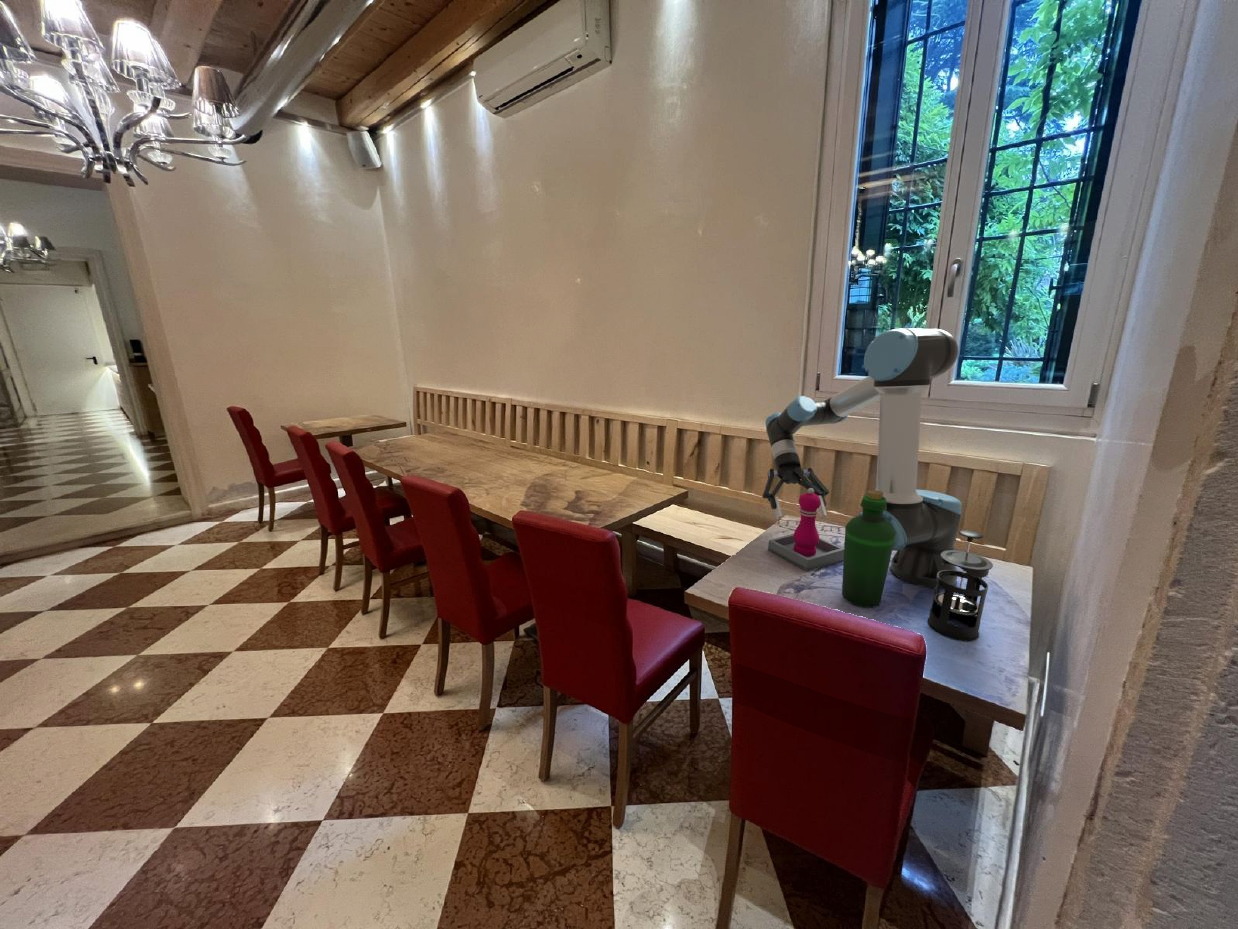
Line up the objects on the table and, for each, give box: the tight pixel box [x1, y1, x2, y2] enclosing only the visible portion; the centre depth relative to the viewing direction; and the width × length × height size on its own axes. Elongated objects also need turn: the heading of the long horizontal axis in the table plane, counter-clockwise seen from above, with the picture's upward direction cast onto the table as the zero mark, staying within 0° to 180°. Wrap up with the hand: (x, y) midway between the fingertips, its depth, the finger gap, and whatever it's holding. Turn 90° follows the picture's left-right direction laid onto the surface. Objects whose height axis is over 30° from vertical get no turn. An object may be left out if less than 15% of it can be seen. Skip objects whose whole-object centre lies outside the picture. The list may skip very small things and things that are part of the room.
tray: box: [767, 533, 844, 572], centre depth 137 cm, size 15×15×4 cm
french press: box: [926, 529, 994, 642], centre depth 99 cm, size 12×9×23 cm
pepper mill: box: [793, 488, 821, 556], centre depth 135 cm, size 7×7×20 cm
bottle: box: [841, 489, 896, 609], centre depth 110 cm, size 11×11×28 cm
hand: (801, 517), depth 138 cm, fingers open, 13 cm apart
